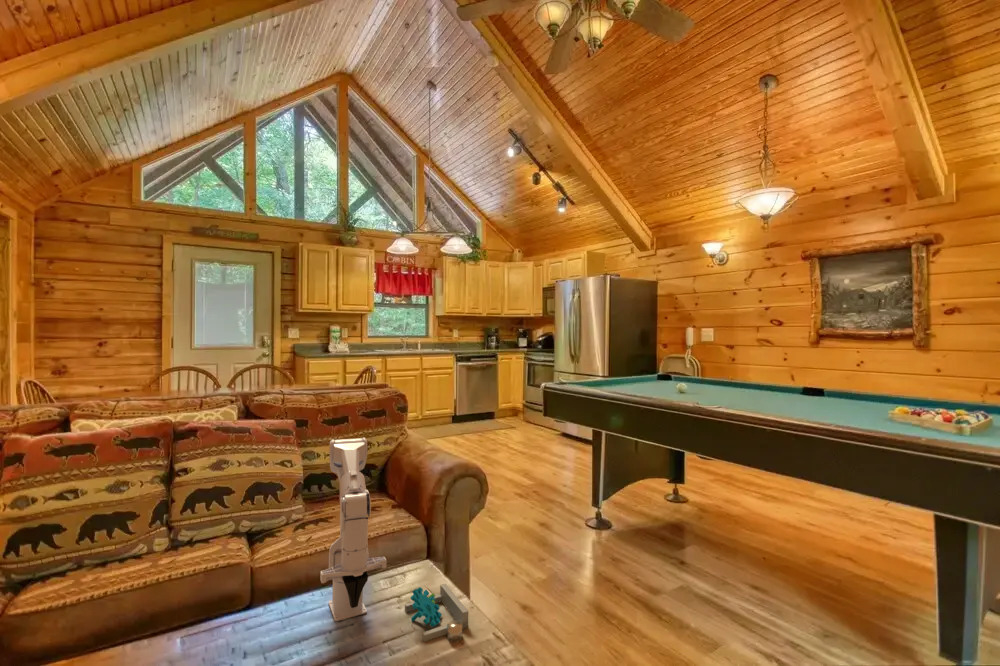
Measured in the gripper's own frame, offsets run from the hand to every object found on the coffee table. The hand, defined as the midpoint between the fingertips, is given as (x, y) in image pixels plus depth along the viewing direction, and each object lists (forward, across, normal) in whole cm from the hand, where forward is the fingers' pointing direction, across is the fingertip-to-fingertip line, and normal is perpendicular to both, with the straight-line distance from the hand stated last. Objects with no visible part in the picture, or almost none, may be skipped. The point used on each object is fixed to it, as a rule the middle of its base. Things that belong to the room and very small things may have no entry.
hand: (353, 605), depth 109 cm
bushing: (+10, +22, -8) cm, 25 cm away
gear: (+10, +19, +2) cm, 21 cm away
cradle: (+10, +21, +1) cm, 23 cm away
